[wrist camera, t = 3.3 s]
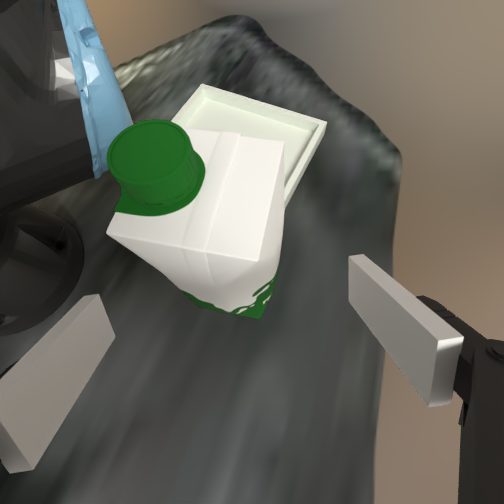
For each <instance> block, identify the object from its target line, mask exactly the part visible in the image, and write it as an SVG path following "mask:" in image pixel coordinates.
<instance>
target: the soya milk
mask: <svg viewBox="0 0 504 504" xmlns="http://www.w3.org/2000/svg"><path fill="white" fill-rule="evenodd" d="M106 160H107V165H108V168H109V170H110V172H111V173H112V175H113V176H114V178H115V179H116V180H117V182H118V183H119V184H120V185H121V197H120V199H119V201H118V203H117V205H116V207H115V209H114V211H113V212H116V213H115V215H114V217H113V219H112V220H111V222H110V224H109V226H108V229H107V231H106V234H107V235H109V236H110V237H112V238H113V239H115V240H116V241H118V242H119V243H121V244H122V245H123V246H125V247H126V248H128V249H129V250H131V251H132V252H134V253H135V254H136V255H138V256H139V257H141V258H142V259H144V260H145V261H146V262H148V263H149V264H151V265H152V266H154V267H155V268H156V269H158V270H159V271H160V272H162V273H163V274H164V275H165V276H166V277H167V278H168V279H169V280H171V281H172V282H173V283H174V284H175V285H176V286H177V287H178V288H179V289H180V290H181V291H182V292H183V293H185V294H186V295H187V296H188V297H189V298H190V299H191V300H192V301H193V302H194V303H195V304H196V305H197V306H199V307H203V308H207V309H211V310H215V311H219V312H224V313H228V314H233V315H239V316H245V317H251V318H257V319H260V318H261V316H262V314H263V312H264V309H265V307H266V305H267V303H268V301H269V299H270V297H271V294H272V292H273V289H274V285H275V281H276V278H277V273H278V268H279V260H280V252H281V243H282V235H283V223H284V141H281V140H273V139H265V138H257V137H249V136H242V134H241V133H239V132H232V131H214V130H205V129H196V128H187V127H180V126H179V125H177V124H175V123H173V122H170V121H167V120H160V119H153V120H146V121H141V122H138V123H135V124H133V125H131V126H129V127H127V128H126V129H124V130H123V131H121V132H120V133H119V134H118V135H117V136H116V137H115V138H114V139H113V141H112V142H111V144H110V146H109V148H108V151H107V157H106Z"/></svg>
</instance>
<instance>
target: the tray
mask: <svg viewBox="0 0 504 504" xmlns="http://www.w3.org/2000/svg"><path fill="white" fill-rule="evenodd" d="M171 122H173V123H175V124H177V125H179V126H180V127H187V128H196V129H205V130H214V131H232V132H239V133H241V134H242V136H249V137H257V138H265V139H273V140H281V141H284V210H285V208H286V206H287V204H288V202H289V200H290V198H291V196H292V195H293V193H294V191H295V189H296V187H297V185H298V183H299V181H300V179H301V177H302V176H303V174H304V172H305V170H306V168H307V166H308V164H309V162H310V160H311V158H312V157H313V155H314V153H315V151H316V149H317V147H318V145H319V143H320V141H321V139H322V138H323V136H324V133H325V129H326V125H327V122H325V121H322V120H319V119H316V118H312V117H309V116H306V115H302V114H299V113H296V112H293V111H289V110H286V109H283V108H280V107H276V106H273V105H270V104H267V103H263V102H260V101H257V100H254V99H250V98H247V97H244V96H240V95H237V94H234V93H231V92H227V91H224V90H221V89H218V88H214V87H211V86H208V85H205V84H201V85H200V87H199V88H198V89H197V90H196V91H195V93H194V94H193V95H192V96H191V98H190V99H189V100H188V101H187V102H186V104H185V105H184V106H183V107H182V108H181V110H180V111H179V112H178V113H177V115H176V116H175V117H174V118H173V119H172V121H171Z"/></svg>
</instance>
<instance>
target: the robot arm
mask: <svg viewBox="0 0 504 504" xmlns="http://www.w3.org/2000/svg"><path fill="white" fill-rule="evenodd" d="M131 125H133V122H132V119H131V116H130V113H129V110H128V108H127V105H126V102H125V99H124V97H123V94H122V91H121V89H120V86H119V84H118V81H117V79H116V76H115V73H114V71H113V68H112V66H111V63H110V61H109V58H108V56H107V54H106V51H105V49H104V47H103V46H102V44H101V39H100V37H99V35H98V32H97V30H96V27H95V25H94V22H93V19H92V16H91V14H90V12H89V9H88V7H87V4H86V2H85V0H0V336H4V335H11V334H15V333H18V332H21V331H24V330H26V329H28V328H31V327H33V326H34V325H36V324H38V323H40V322H41V321H43V320H44V319H46V318H47V317H48V316H50V315H51V314H52V313H53V312H54V311H55V310H57V309H58V308H59V307H60V306H61V304H62V303H63V302H64V301H65V300H66V299H67V297H68V296H69V295H70V293H71V292H72V290H73V288H74V287H75V285H76V283H77V281H78V278H79V276H80V273H81V270H82V266H83V258H84V252H83V245H82V241H81V239H80V236H79V235H78V233H77V231H76V230H75V229H74V228H73V227H72V226H71V225H70V224H68V223H67V222H66V221H64V220H63V219H62V218H60V217H59V216H57V215H56V214H54V213H52V212H50V211H48V210H45V209H42V208H38V207H35V206H32V205H28V204H30V203H32V202H35V201H37V200H39V199H42V198H44V197H47V196H49V195H51V194H54V193H56V192H59V191H61V190H63V189H66V188H68V187H71V186H73V185H75V184H78V183H80V182H83V181H85V180H87V179H90V178H92V177H93V178H94V179H98V178H99V177H100V176H101V174H102V173H104V172H106V171H108V170H109V168H108V165H107V160H106V157H107V151H108V148H109V146H110V144H111V142H112V141H113V139H114V138H115V137H116V136H117V135H118V134H119V133H120V132H121V131H123V130H124V129H126V128H127V127H129V126H131ZM349 302H350V304H351V305H352V306H353V308H354V309H355V310H356V312H357V313H358V314H359V316H360V317H361V318H362V320H363V321H364V322H365V324H366V325H367V326H368V328H369V329H370V330H371V332H372V333H373V334H374V336H375V337H376V338H377V339H378V341H379V342H380V343H381V345H382V346H383V347H384V349H385V350H386V351H387V353H388V354H389V355H390V357H391V358H392V359H393V361H394V362H395V363H396V365H397V366H398V367H399V369H400V370H401V371H402V373H403V374H404V375H405V377H406V378H407V379H408V381H409V382H410V383H411V384H412V386H413V387H414V389H415V390H416V391H417V393H418V394H419V395H420V397H421V398H422V399H423V400H424V402H425V403H426V405H427V406H428V407H433V406H440V405H446V404H451V402H452V396H453V391H455V392H457V394H458V395H459V396H460V397H461V398H462V399H463V404H462V409H461V414H460V418H459V423H458V424H459V425H461V439H460V440H461V441H460V465H459V488H458V504H504V341H500V340H493V339H486V338H485V337H483V336H482V335H481V334H479V333H478V332H477V331H475V330H474V329H473V328H472V327H470V326H469V325H467V324H466V323H465V322H464V321H462V320H461V319H459V318H458V317H456V316H455V315H454V314H453V313H452V312H450V311H449V310H448V311H447V309H446V308H445V307H444V306H442V305H441V304H440V303H438V302H437V301H435V300H433V299H430V298H428V297H426V296H417V297H415V296H413V295H412V294H411V293H410V292H409V291H407V290H406V289H405V288H404V287H403V286H401V285H400V284H399V283H398V282H396V281H395V280H394V279H393V278H392V277H390V276H389V275H388V274H387V273H385V272H384V271H383V270H382V269H381V268H379V267H378V266H377V265H376V264H374V263H373V262H372V261H371V260H370V259H368V258H367V257H366V256H365V255H363V254H361V255H354V256H349ZM114 339H115V334H114V332H113V329H112V327H111V324H110V321H109V319H108V316H107V314H106V311H105V309H104V306H103V304H102V301H101V298H100V296H99V294H94V295H87V296H83V297H82V298H81V299H80V300H79V301H78V302H77V303H76V304H75V305H74V306H73V307H72V308H71V309H70V310H69V311H68V312H67V313H66V314H65V315H64V316H63V317H62V318H61V319H60V320H59V321H58V322H57V323H56V324H55V325H54V326H53V327H52V328H51V329H50V330H49V331H48V332H47V333H46V334H45V335H44V336H43V337H42V338H41V339H40V340H39V341H38V342H37V343H36V344H35V345H34V346H33V347H32V348H31V349H30V350H29V351H28V352H27V353H26V354H25V355H24V356H23V357H22V358H21V359H20V360H18V361H17V362H15V363H14V364H12V365H11V366H9V367H8V368H7V369H6V370H5V371H4V372H3V373H2V374H1V375H0V462H2V464H3V465H4V466H5V468H6V469H7V470H8V472H9V473H15V472H22V471H28V470H33V469H34V468H35V466H36V464H37V463H38V461H39V460H40V458H41V456H42V455H43V453H44V452H45V450H46V448H47V447H48V445H49V443H50V442H51V440H52V439H53V437H54V435H55V434H56V432H57V431H58V429H59V427H60V426H61V424H62V422H63V421H64V419H65V418H66V416H67V414H68V413H69V411H70V410H71V408H72V406H73V405H74V403H75V402H76V400H77V398H78V397H79V395H80V393H81V392H82V390H83V389H84V387H85V385H86V384H87V382H88V381H89V379H90V377H91V376H92V374H93V372H94V371H95V369H96V368H97V366H98V364H99V363H100V361H101V360H102V358H103V356H104V355H105V353H106V351H107V350H108V348H109V347H110V345H111V343H112V342H113V340H114Z"/></svg>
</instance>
